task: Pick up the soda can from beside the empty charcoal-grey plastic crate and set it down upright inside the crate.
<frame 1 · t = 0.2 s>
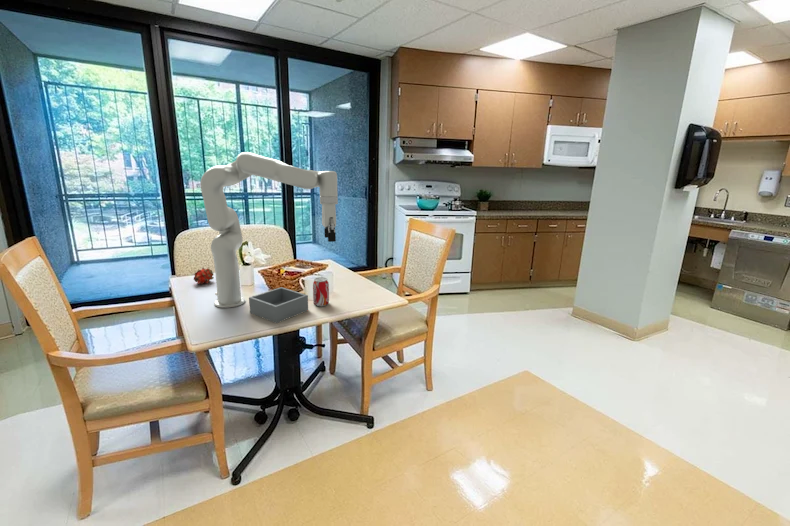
hand: (330, 239, 162), 30 cm above the table, tool pointing down, fingers open, 9 cm apart
crate: (279, 311, 157), on the table
soda can: (321, 304, 166), on the table
dragon fruit: (204, 283, 189), on the table
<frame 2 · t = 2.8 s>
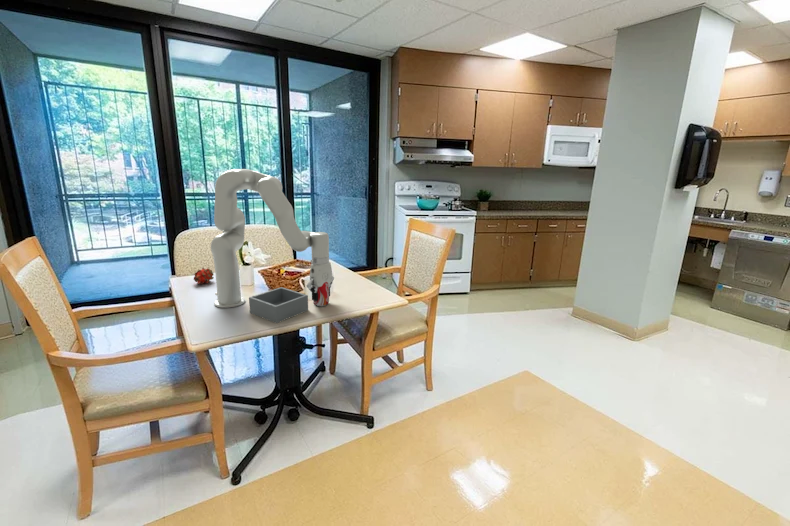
hand: (321, 297, 166), 3 cm above the table, tool pointing down, fingers closed on soda can, 7 cm apart
soda can: (321, 304, 166), on the table, touching gripper
everything else where it was.
when the fingers open (6 cm above the table, at t = 9.6 s): soda can drops 1 cm, resting on crate.
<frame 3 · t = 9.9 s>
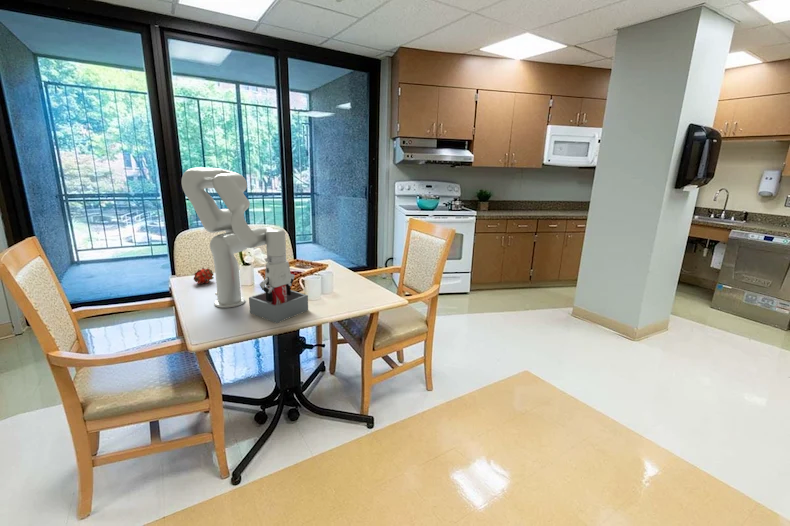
hand: (278, 297, 155), 6 cm above the table, tool pointing down, fingers open, 9 cm apart
soda can: (279, 309, 157), point 1 cm above the table, touching crate
everything else where it was.
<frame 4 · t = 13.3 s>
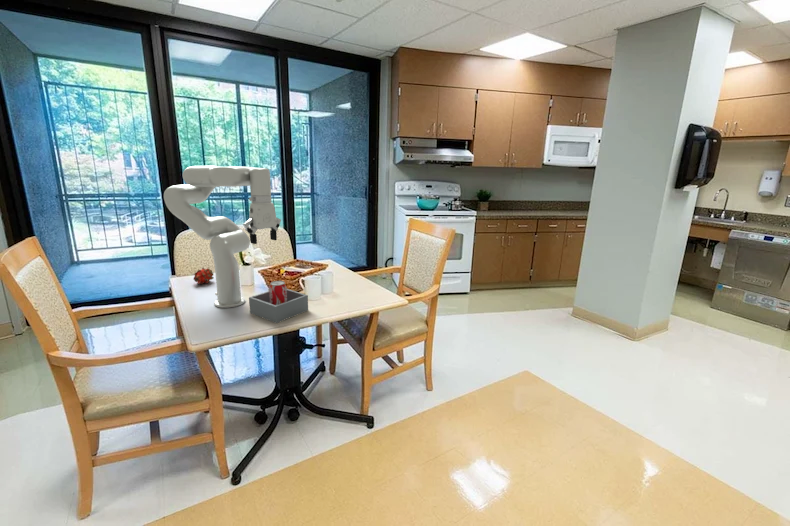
hand: (263, 241, 150), 30 cm above the table, tool pointing down, fingers open, 9 cm apart
nothing on the table moved.
at the end: soda can inside the target area on the crate (0.1 cm from its centre), point 0.8 cm above the crate's base; soda can tilted 0°; the gripper is holding nothing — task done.
